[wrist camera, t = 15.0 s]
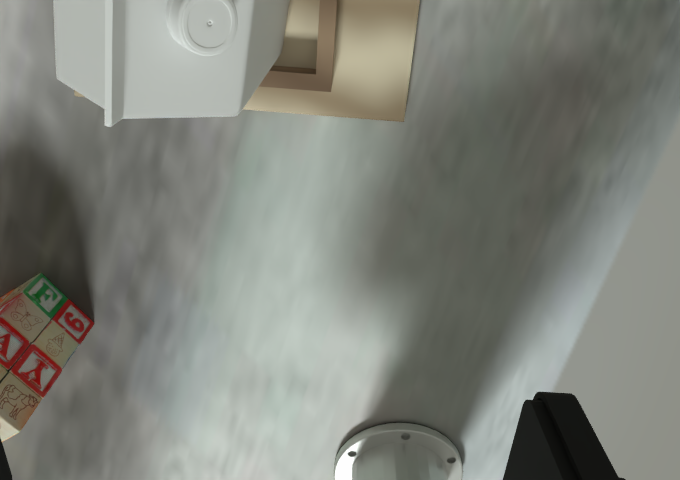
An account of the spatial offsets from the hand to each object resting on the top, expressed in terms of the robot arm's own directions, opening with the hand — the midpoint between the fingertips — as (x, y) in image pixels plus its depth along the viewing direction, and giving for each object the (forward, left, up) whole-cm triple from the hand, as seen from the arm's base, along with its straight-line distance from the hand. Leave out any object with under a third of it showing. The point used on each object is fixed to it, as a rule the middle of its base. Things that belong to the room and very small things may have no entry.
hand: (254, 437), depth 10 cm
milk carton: (+6, +6, -30) cm, 31 cm away
